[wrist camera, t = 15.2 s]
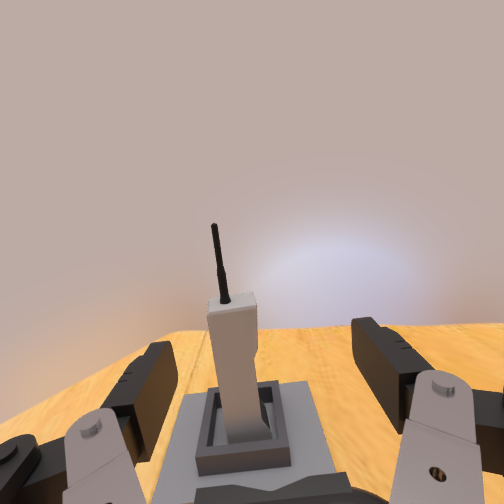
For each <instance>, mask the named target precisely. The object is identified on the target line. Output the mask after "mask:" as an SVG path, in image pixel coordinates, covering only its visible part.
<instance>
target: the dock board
mask: <svg viewBox="0 0 504 504" xmlns="http://www.w3.org/2000/svg"><path fill="white" fill-rule="evenodd" d="M257 387H258V394H259V398H260V400H261V401H262V402H263V403H264V405H265V406H266V407H267V412H268V417H269V421H270V426H271V431H272V438H273V439H271V440H262V441H253V442H244V443H236V444H228V440H227V434H226V428H225V422H224V416H223V410H222V404H221V398H220V392H219V387H214V388H208V392H204V393H196V394H187V395H184V396H183V400H182V403H181V406H180V409H179V413H178V416H177V419H176V423H175V426H174V429H173V432H172V436H171V439H170V442H169V446H168V449H167V452H166V455H165V459H164V462H163V465H162V469H161V472H160V475H159V478H158V482H157V485H156V488H155V492H154V495H153V498H152V501H151V504H194V499H195V493H196V488H204V487H213V486H222V485H231V484H234V485H239V486H245V487H250V488H255V489H261V490H266V491H274V490H276V489H279V488H281V487H284V486H286V485H288V484H291V483H293V482H295V481H298V480H300V479H303V478H305V477H307V476H312V475H321V474H330V473H336V470H335V467H334V463H333V460H332V457H331V454H330V451H329V448H328V445H327V442H326V438H325V435H324V432H323V429H322V426H321V423H320V420H319V417H318V414H317V410H316V407H315V404H314V401H313V398H312V395H311V392H310V389H309V385H308V382H307V381H300V382H292V383H283V384H279V382H278V380H275V381H266V382H258V383H257Z"/></svg>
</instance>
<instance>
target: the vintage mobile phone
mask: <svg viewBox="0 0 504 504" xmlns="http://www.w3.org/2000/svg"><path fill="white" fill-rule="evenodd" d="M211 228H212V235H213V242H214V248H215V255H216V261H217V276H218V282H219V289H220V297H215V298H210V300H209V301H208V310H207V321H208V327H209V333H210V339H211V345H212V351H213V356H214V362H215V368H216V374H217V380H218V386H219V392H220V398H221V404H222V410H223V416H224V422H225V428H226V434H227V440H228V444H236V443H244V442H253V441H262V440H271V439H273V438H272V431H271V426H270V421H269V417H268V412H267V407H266V406H265V405H264V403H263V402H262V401H261V400H260V398H259V394H258V387H257V379H256V371H255V363H254V357H255V355H256V352H257V349H258V331H257V304H256V301H255V298H254V295H253V292H248V293H241V294H235V295H229V294H228V288H227V280H226V273H225V270H224V266H223V261H222V254H221V247H220V240H219V233H218V226H217V224H215V223H213V224H212V225H211Z"/></svg>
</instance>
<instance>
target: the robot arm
mask: <svg viewBox="0 0 504 504" xmlns="http://www.w3.org/2000/svg"><path fill="white" fill-rule="evenodd" d="M351 329H352V351H353V357H354V360H355V363H356V365H357V367H358V369H359V370H360V372H361V374H362V375H363V377H364V379H365V380H366V382H367V383H368V385H369V387H370V388H371V390H372V392H373V393H374V395H375V397H376V398H377V400H378V402H379V403H380V405H381V407H382V408H383V410H384V412H385V413H386V415H387V416H388V418H389V420H390V421H391V423H392V425H393V426H394V428H395V430H396V431H397V433H398V435H399V434H403V435H402V440H401V445H400V450H399V455H398V460H397V465H396V470H395V475H394V480H393V485H392V491H391V496H390V501H389V502H388V501H386V500H385V499H383V498H381V497H379V496H377V495H375V494H373V493H371V492H369V491H366V490H363V489H360V488H356V487H351V485H350V482H349V480H348V477H347V474H346V472H339V473H330V474H321V475H312V476H307V477H305V478H303V479H300V480H298V481H295V482H293V483H291V484H288V485H286V486H284V487H281V488H279V489H276V490H274V491H266V490H261V489H255V488H250V487H245V486H239V485H234V484H231V485H222V486H213V487H204V488H196V493H195V499H194V504H485V502H484V490H483V477H482V471H485V472H490V473H495V474H499V475H502V476H503V477H504V388H503V393H499V392H491V391H482V390H475V389H471V388H470V386H469V385H468V384H467V383H466V382H465V381H463V380H462V379H460V378H459V377H457V376H455V375H453V374H450V373H447V372H444V371H439V370H435V369H434V368H433V367H432V366H431V365H430V364H429V363H428V362H427V361H426V360H425V359H424V358H423V357H422V356H421V355H420V354H419V353H418V352H417V351H416V350H415V349H412V346H411V345H410V344H408V343H407V342H406V341H405V340H404V339H403V338H402V337H401V336H400V335H399V334H398V333H397V332H395V331H393V330H391V329H389V328H387V327H380V326H379V325H378V324H377V323H376V322H375V321H374V320H373V318H371V317H363V318H356V319H352V322H351ZM177 383H178V371H177V367H176V362H175V358H174V353H173V349H172V345H171V342H170V341H162V342H153V343H151V344H150V345H149V347H148V349H147V350H146V352H145V353H144V355H143V356H139V357H137V358H136V359H135V360H134V361H133V362H131V363H130V364H129V366H128V367H127V368H126V370H125V371H124V373H123V375H122V376H121V377H120V379H119V380H118V383H116V385H115V386H114V388H113V389H112V391H111V392H110V394H109V395H108V397H107V398H106V400H105V401H104V402H103V404H102V405H101V407H100V408H99V409H97V410H94V411H91V412H89V413H87V414H86V415H84V416H82V417H81V418H79V419H78V420H77V421H76V422H75V423H74V424H73V425H72V426H71V427H70V428H69V429H68V431H67V433H66V435H65V436H64V437H61V438H58V439H56V440H53V441H50V442H47V443H45V444H42V445H39V446H38V444H37V441H36V439H35V437H34V436H33V435H31V434H24V435H20V436H17V437H14V438H12V439H9V440H8V441H6V442H4V443H2V444H0V504H147V503H146V500H145V498H144V495H143V492H142V489H141V486H140V483H139V480H138V477H137V474H136V471H135V469H134V468H135V466H136V464H137V463H141V462H150V459H151V456H152V453H153V451H154V448H155V445H156V442H157V440H158V437H159V434H160V431H161V429H162V426H163V423H164V420H165V417H166V415H167V412H168V409H169V406H170V404H171V401H172V398H173V395H174V393H175V390H176V387H177Z"/></svg>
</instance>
